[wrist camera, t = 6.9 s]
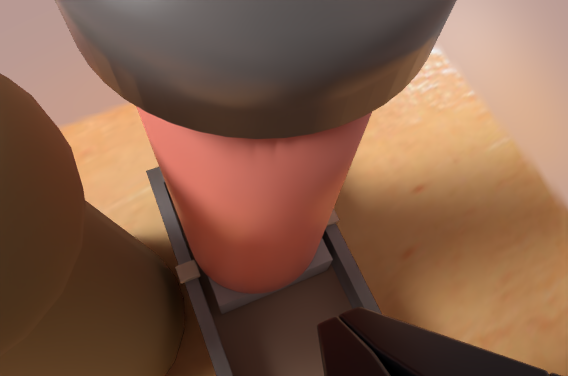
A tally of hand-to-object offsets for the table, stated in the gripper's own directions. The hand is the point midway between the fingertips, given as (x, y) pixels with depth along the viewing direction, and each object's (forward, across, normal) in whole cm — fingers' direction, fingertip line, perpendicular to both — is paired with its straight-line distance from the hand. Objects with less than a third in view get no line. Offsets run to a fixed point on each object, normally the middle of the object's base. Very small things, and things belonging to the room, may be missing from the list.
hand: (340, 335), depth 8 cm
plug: (+7, 0, +1) cm, 7 cm away
